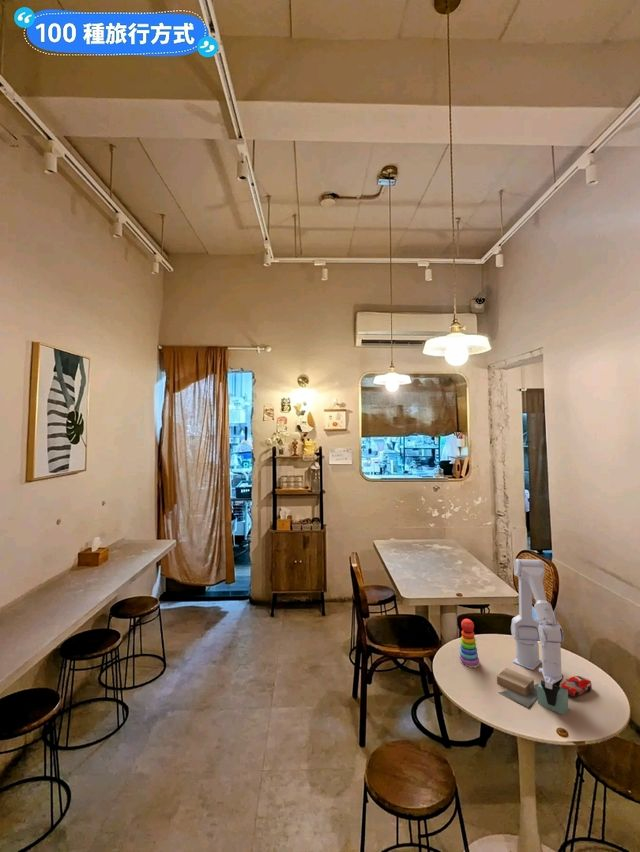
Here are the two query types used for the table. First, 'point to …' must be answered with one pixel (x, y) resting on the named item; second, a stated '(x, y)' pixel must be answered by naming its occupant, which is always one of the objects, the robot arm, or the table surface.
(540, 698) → the teal brick
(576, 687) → the race car
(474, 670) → the table surface
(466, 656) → the stacking toy
